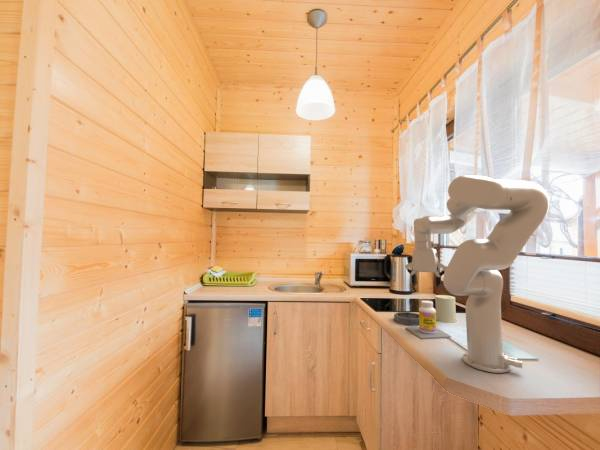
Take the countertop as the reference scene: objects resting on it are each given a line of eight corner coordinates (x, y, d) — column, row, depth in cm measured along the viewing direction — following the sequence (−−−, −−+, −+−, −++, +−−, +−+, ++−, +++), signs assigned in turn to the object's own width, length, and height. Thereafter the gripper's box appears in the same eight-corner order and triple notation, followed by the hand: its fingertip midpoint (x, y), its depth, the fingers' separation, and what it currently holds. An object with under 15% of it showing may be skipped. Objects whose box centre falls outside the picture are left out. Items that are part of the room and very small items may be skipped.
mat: (433, 327, 120) (433, 326, 120) (451, 337, 107) (451, 336, 107) (405, 328, 119) (405, 327, 119) (421, 339, 106) (421, 337, 106)
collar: (426, 321, 130) (425, 315, 130) (417, 327, 121) (417, 320, 121) (401, 316, 138) (400, 310, 138) (391, 322, 129) (391, 315, 129)
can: (447, 323, 126) (445, 298, 126) (431, 318, 134) (430, 294, 135) (461, 321, 129) (459, 296, 130) (445, 316, 137) (444, 293, 138)
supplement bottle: (421, 333, 110) (420, 303, 111) (417, 328, 117) (416, 299, 118) (438, 334, 109) (437, 303, 110) (434, 329, 116) (432, 300, 116)
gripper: (448, 245, 112) (450, 286, 111) (407, 246, 124) (409, 282, 123) (443, 245, 107) (445, 288, 105) (401, 246, 119) (403, 284, 117)
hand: (426, 285), depth 114 cm, fingers open, 9 cm apart
